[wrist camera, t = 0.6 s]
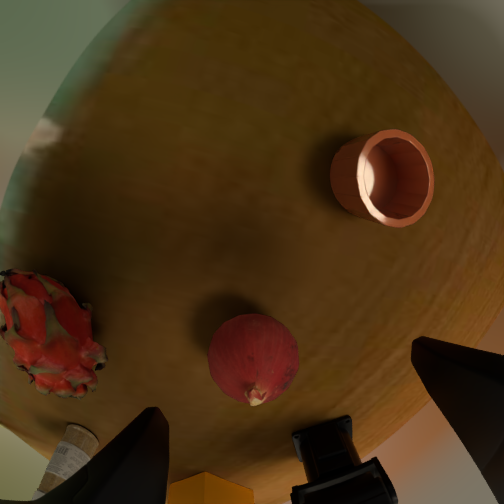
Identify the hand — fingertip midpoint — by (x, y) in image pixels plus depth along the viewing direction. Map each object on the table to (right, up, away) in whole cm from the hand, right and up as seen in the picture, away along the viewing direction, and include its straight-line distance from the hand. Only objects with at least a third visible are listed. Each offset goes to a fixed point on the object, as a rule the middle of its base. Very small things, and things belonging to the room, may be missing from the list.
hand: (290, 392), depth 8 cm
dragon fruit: (-17, -1, +11) cm, 21 cm away
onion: (-1, -1, +13) cm, 13 cm away
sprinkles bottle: (-22, -18, +15) cm, 32 cm away
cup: (+7, +10, +10) cm, 16 cm away
